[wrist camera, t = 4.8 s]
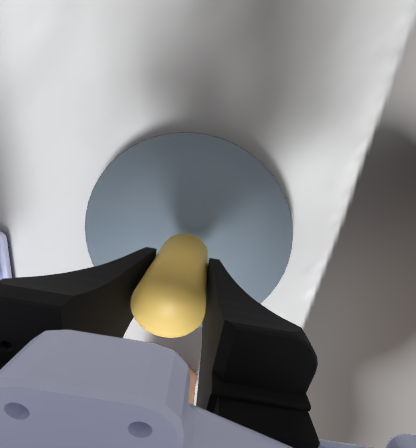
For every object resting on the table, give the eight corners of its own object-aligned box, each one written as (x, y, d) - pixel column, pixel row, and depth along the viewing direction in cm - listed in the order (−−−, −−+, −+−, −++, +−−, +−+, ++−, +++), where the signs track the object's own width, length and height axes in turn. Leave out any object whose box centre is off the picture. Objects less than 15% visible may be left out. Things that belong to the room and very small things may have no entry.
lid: (92, 304, 18) (85, 311, 17) (93, 115, 14) (83, 111, 13) (259, 331, 19) (262, 340, 18) (315, 157, 14) (323, 156, 13)
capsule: (159, 273, 14) (129, 332, 9) (162, 230, 13) (131, 269, 8) (204, 279, 14) (200, 342, 9) (211, 237, 13) (210, 281, 8)
